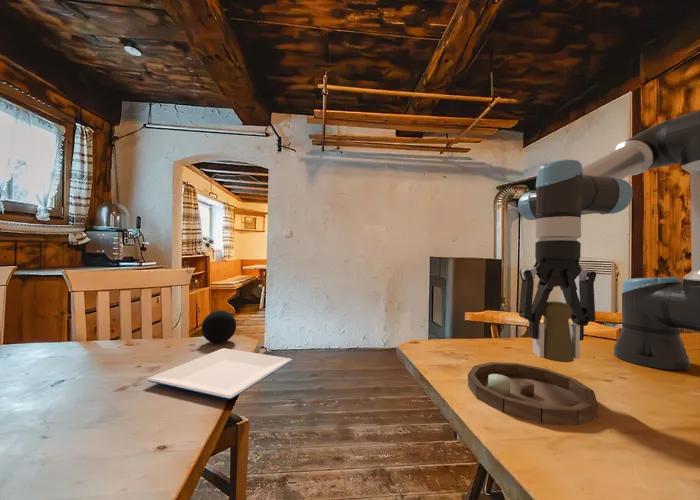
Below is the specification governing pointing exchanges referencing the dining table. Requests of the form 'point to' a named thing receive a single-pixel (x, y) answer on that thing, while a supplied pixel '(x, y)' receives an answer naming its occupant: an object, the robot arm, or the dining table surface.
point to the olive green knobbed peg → (557, 332)
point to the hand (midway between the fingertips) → (555, 355)
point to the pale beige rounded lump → (499, 384)
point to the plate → (221, 372)
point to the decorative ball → (218, 326)
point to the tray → (535, 394)
